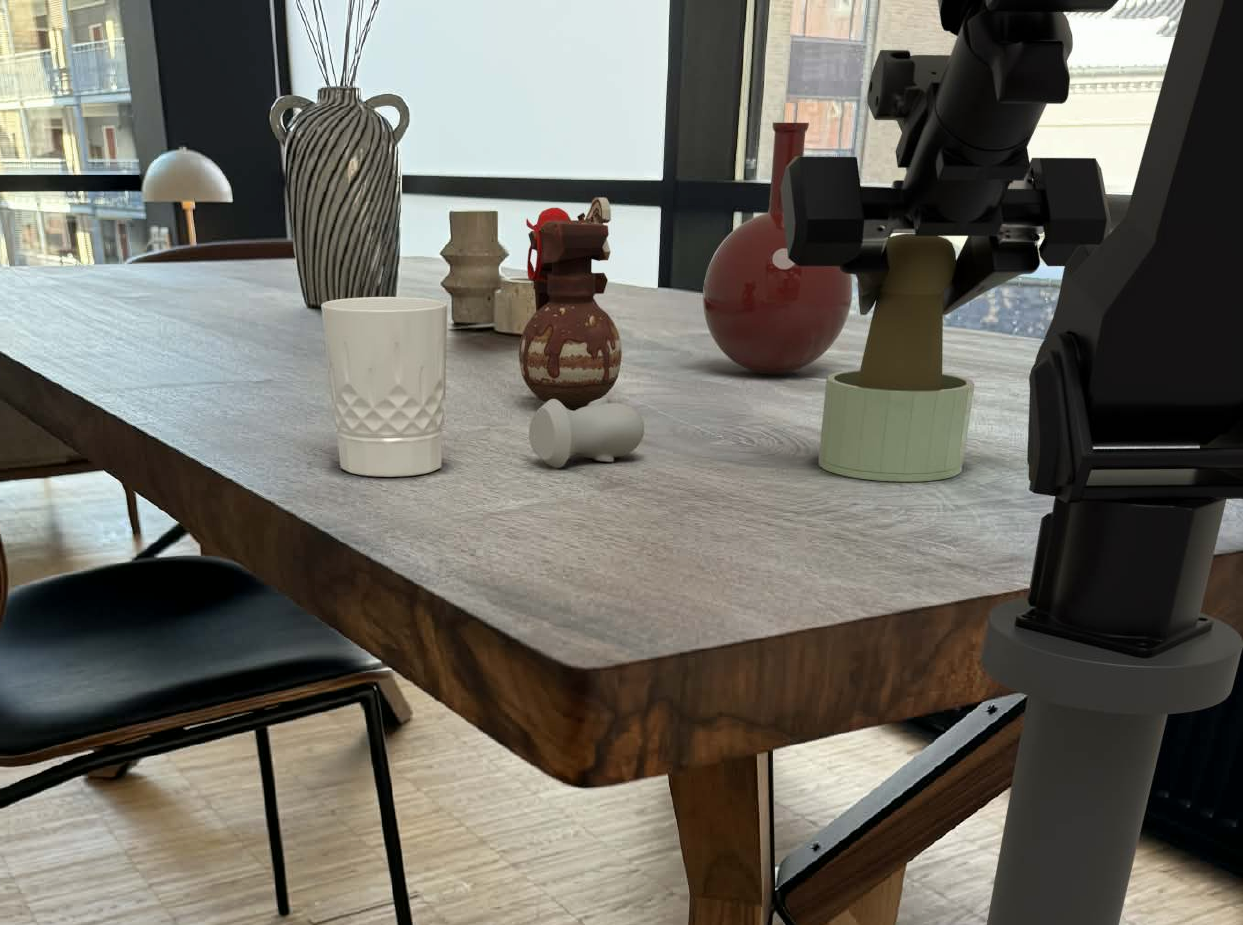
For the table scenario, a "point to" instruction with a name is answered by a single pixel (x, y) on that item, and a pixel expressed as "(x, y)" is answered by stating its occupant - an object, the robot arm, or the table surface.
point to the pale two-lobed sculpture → (585, 431)
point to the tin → (894, 429)
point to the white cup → (387, 382)
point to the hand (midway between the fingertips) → (902, 309)
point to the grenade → (569, 310)
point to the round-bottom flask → (773, 286)
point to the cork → (909, 316)
